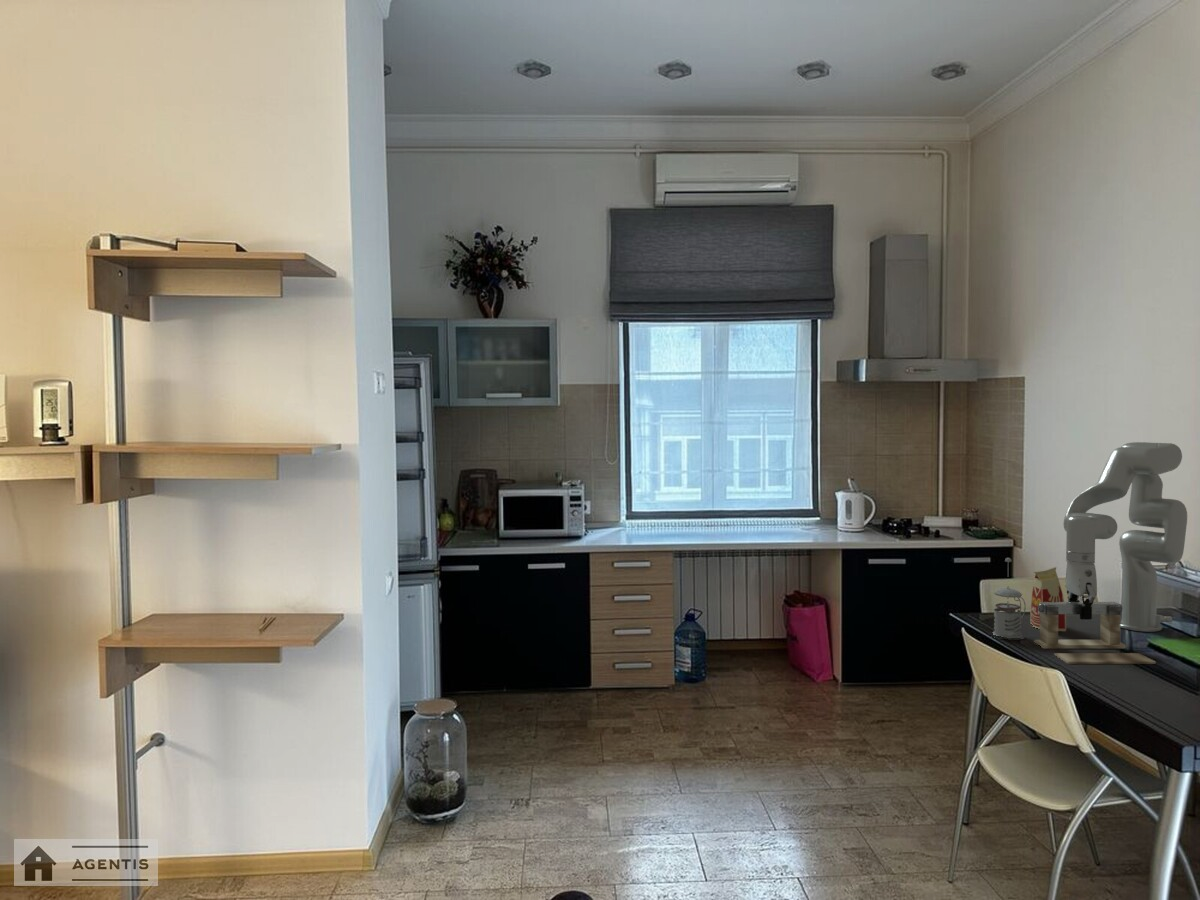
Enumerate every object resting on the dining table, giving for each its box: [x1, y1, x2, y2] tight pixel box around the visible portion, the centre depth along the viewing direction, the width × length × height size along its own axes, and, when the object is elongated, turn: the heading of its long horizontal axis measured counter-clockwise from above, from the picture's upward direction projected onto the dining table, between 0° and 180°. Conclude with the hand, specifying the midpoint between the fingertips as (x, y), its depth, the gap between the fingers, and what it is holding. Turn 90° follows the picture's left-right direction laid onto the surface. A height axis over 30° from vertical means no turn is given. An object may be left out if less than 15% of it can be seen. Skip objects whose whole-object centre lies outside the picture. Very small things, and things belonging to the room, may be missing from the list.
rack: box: [1033, 606, 1127, 649], centre depth 257 cm, size 24×6×12 cm, turn 87°
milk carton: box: [1029, 566, 1067, 632], centre depth 278 cm, size 9×9×20 cm
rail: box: [1038, 601, 1122, 615], centre depth 257 cm, size 24×3×3 cm, turn 87°
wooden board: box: [1053, 652, 1157, 665], centre depth 244 cm, size 24×8×1 cm, turn 87°
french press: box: [992, 557, 1026, 638], centre depth 269 cm, size 10×12×25 cm
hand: (1079, 615), depth 257 cm, fingers open, 6 cm apart
